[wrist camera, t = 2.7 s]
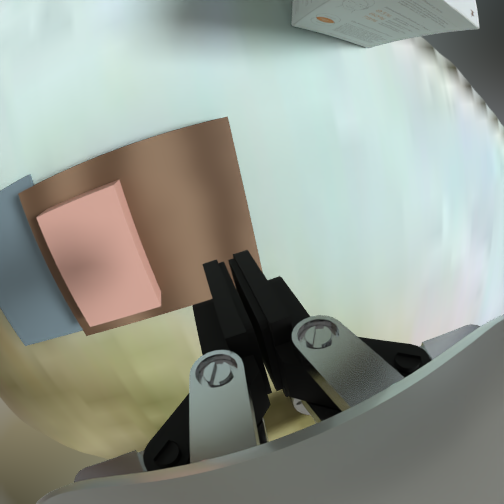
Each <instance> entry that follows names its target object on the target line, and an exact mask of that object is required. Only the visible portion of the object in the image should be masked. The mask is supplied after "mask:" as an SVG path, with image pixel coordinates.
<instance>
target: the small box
mask: <svg viewBox="0 0 504 504" xmlns="http://www.w3.org/2000/svg"><path fill="white" fill-rule="evenodd" d="M291 25H292V26H294V27H299V28H303V29H307V30H311V31H315V32H318V33H322V34H326V35H329V36H332V37H336V38H339V39H342V40H345V41H348V42H352V43H355V44H357V45H360V46H363V47H366V48H371V47H374V46H378V45H382V44H386V43H390V42H394V41H398V40H403V39H408V38H413V37H419V36H424V35H431V34H437V33H443V32H452V31H460V30H471V29H479V21H478V12H477V6H476V1H475V0H293V1H292V20H291Z"/></svg>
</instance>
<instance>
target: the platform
mask: <svg viewBox="0 0 504 504" xmlns="http://www.w3.org/2000/svg"><path fill="white" fill-rule="evenodd" d="M116 180H120V183H121V186H122V189H123V192H124V195H125V198H126V201H127V204H128V207H129V210H130V213H131V216H132V219H133V222H134V224H135V227H136V230H137V233H138V235H139V238H140V241H141V243H142V246H143V249H144V251H145V254H146V256H147V259H148V261H149V264H150V266H151V269H152V271H153V274H154V276H155V279H156V281H157V283H158V286H159V288H160V290H161V306H160V307H157V308H154V309H150V310H147V311H144V312H140V313H137V314H134V315H130V316H127V317H123V318H120V319H116V320H113V321H110V322H106V323H103V324H99V325H96V326H92V327H90V326H89V324H88V322H87V321H86V319H85V317H84V316H83V314H82V312H81V310H80V309H79V307H78V305H77V303H76V302H75V300H74V298H73V296H72V294H71V292H70V290H69V289H68V287H67V285H66V283H65V281H64V279H63V277H62V275H61V273H60V271H59V269H58V267H57V265H56V263H55V260H54V258H53V256H52V254H51V252H50V250H49V247H48V245H47V243H46V240H45V238H44V236H43V233H42V231H41V228H40V226H39V223H38V221H37V218H36V217H38V216H39V215H40V214H41V213H43V212H44V211H45V210H46V209H48V208H51V207H53V206H55V205H57V204H59V203H62V202H64V201H66V200H69V199H71V198H73V197H76V196H78V195H81V194H83V193H85V192H88V191H90V190H93V189H95V188H98V187H101V186H103V185H106V184H108V183H111V182H114V181H116ZM18 195H19V198H20V201H21V204H22V207H23V209H24V212H25V215H26V217H27V220H28V222H29V225H30V228H31V230H32V232H33V235H34V237H35V240H36V242H37V244H38V246H39V249H40V251H41V253H42V255H43V257H44V260H45V262H46V264H47V266H48V268H49V270H50V272H51V274H52V276H53V278H54V280H55V282H56V284H57V286H58V288H59V290H60V291H61V293H62V295H63V297H64V299H65V301H66V302H67V304H68V306H69V308H70V309H71V311H72V313H73V314H74V316H75V318H76V319H77V321H78V323H79V324H80V326H81V328H82V329H83V331H84V332H85V334H86V336H88V335H91V334H95V333H99V332H102V331H106V330H109V329H113V328H117V327H120V326H124V325H127V324H131V323H134V322H137V321H141V320H144V319H148V318H151V317H154V316H158V315H161V314H165V313H168V312H171V311H174V310H178V309H181V308H184V307H188V306H191V305H194V304H197V303H200V302H204V301H207V300H210V299H212V295H211V292H210V289H209V285H208V282H207V278H206V275H205V272H204V268H203V265H202V264H204V263H207V262H210V261H213V260H216V259H217V261H218V263H220V262H223V261H224V263H225V265H226V267H227V270H228V272H229V274H230V277H231V279H232V281H233V283H234V280H233V276H232V272H231V269H230V265H229V261H228V260H230V259H233V254H235V253H239V252H242V251H245V250H248V251H249V253H250V254H251V256H252V257H253V259H254V260H255V262H256V263H257V265H258V267H259V268H260V270H261V271H262V268H261V263H260V259H259V254H258V250H257V245H256V241H255V236H254V232H253V227H252V223H251V218H250V214H249V209H248V205H247V200H246V196H245V191H244V187H243V182H242V178H241V174H240V169H239V165H238V160H237V156H236V151H235V147H234V143H233V138H232V134H231V129H230V125H229V121H228V117H224V118H219V119H215V120H211V121H207V122H203V123H199V124H195V125H192V126H188V127H184V128H181V129H177V130H174V131H170V132H167V133H164V134H160V135H157V136H154V137H151V138H148V139H145V140H142V141H139V142H136V143H133V144H130V145H127V146H124V147H122V148H119V149H116V150H113V151H111V152H108V153H106V154H103V155H100V156H98V157H95V158H93V159H90V160H88V161H86V162H83V163H81V164H79V165H76V166H74V167H72V168H69V169H67V170H65V171H63V172H61V173H58V174H56V175H54V176H52V177H50V178H48V179H46V180H44V181H42V182H40V183H38V184H36V185H34V186H32V187H30V188H28V189H26V190H24V191H22V192H20V193H19V194H18ZM262 273H263V272H262ZM234 286H235V283H234ZM235 288H236V287H235Z"/></svg>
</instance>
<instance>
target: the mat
mask: <svg viewBox="0 0 504 504" xmlns="http://www.w3.org/2000/svg"><path fill="white" fill-rule="evenodd" d="M32 186H34V184H33V181H32V178H31V174H30V175H27V176H26V177H24V178H22V179H20V180H18V181H17V182H15V183H13V184H11V185H9V186H8V187H6V188H4V189H3V190H1V191H0V308H1V310H2V311H3V313H4V315H5V316H6V318H7V319H8V321H9V323H10V324H11V326H12V327H13V329H14V330H15V332H16V333H17V335H18V336H19V338H20V339H21V341H22V342H23V344H24V345H25V346H27V345H30V344H34V343H38V342H42V341H46V340H49V339H53V338H57V337H60V336H64V335H68V334H71V333H75V332H79V331H82V330H83V329H82V328H81V326H80V324H79V323H78V321H77V319H76V318H75V316H74V314H73V313H72V311H71V309H70V308H69V306H68V304H67V302H66V301H65V299H64V297H63V295H62V293H61V291H60V290H59V288H58V286H57V284H56V282H55V280H54V278H53V276H52V274H51V272H50V270H49V268H48V266H47V264H46V262H45V260H44V257H43V255H42V253H41V251H40V249H39V246H38V244H37V242H36V240H35V237H34V235H33V232H32V230H31V228H30V225H29V222H28V220H27V217H26V215H25V212H24V209H23V207H22V204H21V201H20V198H19V195H18V194H19V193H20V192H22V191H24V190H26V189H28V188H30V187H32Z"/></svg>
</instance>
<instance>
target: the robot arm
mask: <svg viewBox="0 0 504 504" xmlns="http://www.w3.org/2000/svg"><path fill="white" fill-rule="evenodd" d="M228 261H229V265H230V269H231V272H232V276H233V280H234V283H235V286H234V283H233V281H232V279H231V277H230V274H229V272H228V270H227V267H226V265H225V263H224V261H223V262H220V263H218V261H217V259H216V260H213V261H210V262H207V263H204V264H202V265H203V268H204V272H205V275H206V278H207V282H208V285H209V289H210V292H211V295H212V299H210V300H207V301H204V302H200V303H197V304H194V305H193V311H194V316H195V321H196V326H197V331H198V336H199V341H200V345H201V350H202V354H203V356H201V357H200V358H199V359H198V360H197V361H195V363H194V364H193V366H192V368H191V371H190V385H189V394H188V395H187V396H186V398H185V399H184V400H183V401H182V403H181V404H180V405H179V406H178V408H177V409H176V410H175V411H174V413H173V414H172V415H171V416H170V417H169V419H168V420H167V421H166V422H165V424H164V425H163V426H162V427H161V428H160V430H159V431H158V432H157V433H156V434H155V436H154V437H153V438H152V439H151V440H150V442H149V443H148V445H147V446H146V448H145V450H144V451H141V452H137V451H136V450H135V451H132V452H129V453H127V454H124V455H121V456H118V457H116V458H113V459H110V460H107V461H104V462H101V463H98V464H95V465H92V466H89V467H86V468H84V469H82V470H80V471H79V473H78V474H77V475H76V477H75V481H74V483H71V484H68V485H66V486H63V487H61V488H58V489H56V490H54V491H52V492H49V493H48V494H46V495H45V496H44V497H42V498H41V499H40V500H39V501H38V502H37V503H36V504H504V314H503V315H501V316H499V317H497V318H495V319H492V320H490V321H489V322H487V323H485V324H483V325H482V326H478V325H472V324H471V325H466V326H463V327H461V328H459V329H456V330H454V331H451V332H448V333H446V334H443V335H441V336H438V337H435V338H433V339H430V340H427V341H424V342H422V345H421V346H420V347H418V346H416V345H412V344H405V343H398V342H390V341H383V340H376V339H369V338H362V337H357V336H356V335H355V334H354V333H352V332H351V331H350V330H349V329H348V328H347V327H345V326H344V325H343V324H342V323H341V322H340V321H338V320H336V319H335V318H333V317H329V316H322V315H318V316H311V317H310V316H309V314H308V313H307V311H306V310H305V309H304V307H303V306H302V305H301V303H300V302H299V301H298V299H297V298H296V296H295V295H294V294H293V292H292V291H291V290H290V288H289V287H288V286H287V284H286V283H285V281H284V280H283V279H282V278H281V277H276V278H273V279H270V280H267V279H266V277H265V276H264V274H263V273H262V271H261V270H260V268H259V267H258V265H257V263H256V262H255V260H254V259H253V257H252V256H251V254H250V253H249V251H248V250H245V251H242V252H239V253H235V254H233V259H230V260H228ZM235 287H236V288H235ZM263 362H264V363H263ZM264 365H265V367H266V369H267V371H268V373H269V376H270V378H271V380H272V382H273V384H274V387H275V389H276V391H278V390H281V389H283V392H284V394H285V396H286V397H288V396H290V397H291V398H292V403H293V405H294V407H295V409H296V410H297V411H298V412H300V413H302V414H306V415H311V416H312V417H313V419H314V421H315V423H316V424H314V425H312V426H309V427H307V428H305V429H302V430H300V431H297V432H295V433H292V434H289V435H287V436H284V437H281V438H279V439H276V440H273V441H270V442H269V441H268V436H267V431H266V426H265V421H264V418H263V416H264V414H265V413H266V411H267V409H268V408H269V406H270V402H269V398H268V395H267V394H270V393H272V391H271V388H270V384H269V381H268V377H267V374H266V370H265V367H264Z"/></svg>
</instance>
